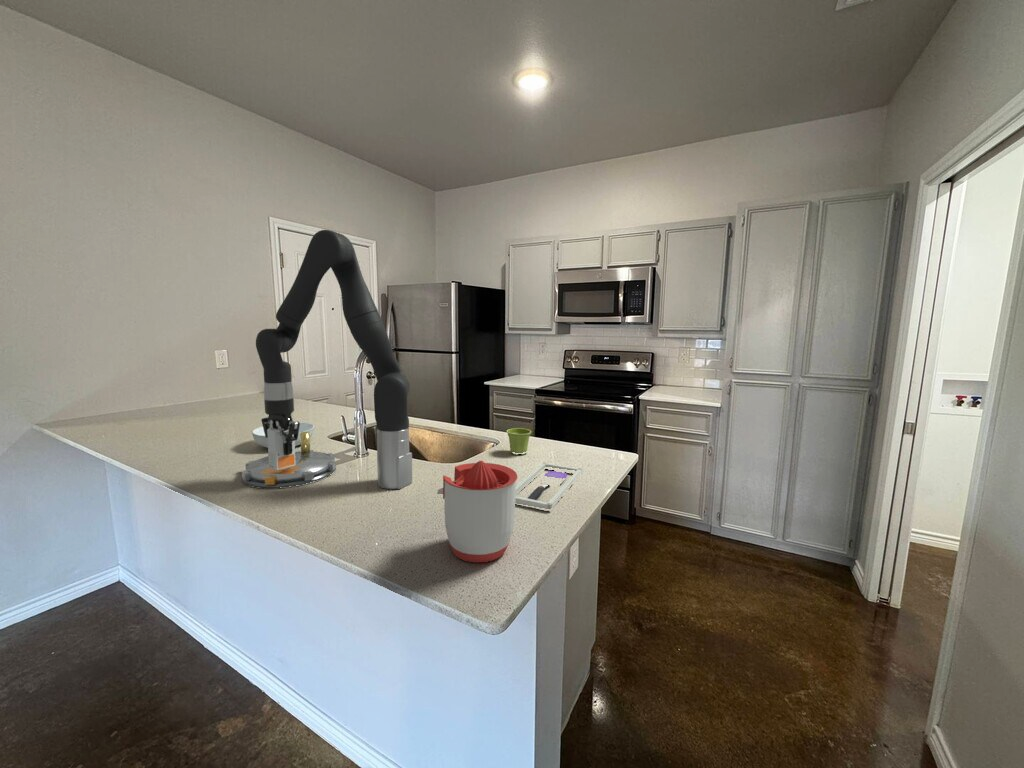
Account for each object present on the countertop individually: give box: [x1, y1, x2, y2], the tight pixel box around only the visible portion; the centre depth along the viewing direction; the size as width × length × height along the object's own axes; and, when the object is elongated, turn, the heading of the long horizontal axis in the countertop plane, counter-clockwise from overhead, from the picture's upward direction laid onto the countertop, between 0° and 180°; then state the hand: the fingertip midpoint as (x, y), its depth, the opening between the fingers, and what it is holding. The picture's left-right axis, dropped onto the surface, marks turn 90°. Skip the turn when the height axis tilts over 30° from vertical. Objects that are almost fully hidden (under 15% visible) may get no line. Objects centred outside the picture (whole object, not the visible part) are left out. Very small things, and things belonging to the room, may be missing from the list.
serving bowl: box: [251, 421, 315, 449], centre depth 161 cm, size 21×21×7 cm
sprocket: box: [241, 432, 337, 485], centre depth 132 cm, size 27×27×9 cm
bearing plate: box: [242, 460, 337, 489], centre depth 133 cm, size 26×26×1 cm
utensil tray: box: [515, 462, 583, 509], centre depth 127 cm, size 13×31×2 cm, turn 156°
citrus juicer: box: [436, 460, 518, 563], centre depth 90 cm, size 16×17×20 cm
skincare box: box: [267, 429, 296, 471], centre depth 125 cm, size 6×4×12 cm
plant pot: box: [506, 427, 532, 453], centre depth 159 cm, size 9×9×9 cm
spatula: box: [527, 471, 568, 500], centre depth 124 cm, size 24×7×2 cm, turn 153°
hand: (282, 452), depth 126 cm, fingers closed on skincare box, 4 cm apart
